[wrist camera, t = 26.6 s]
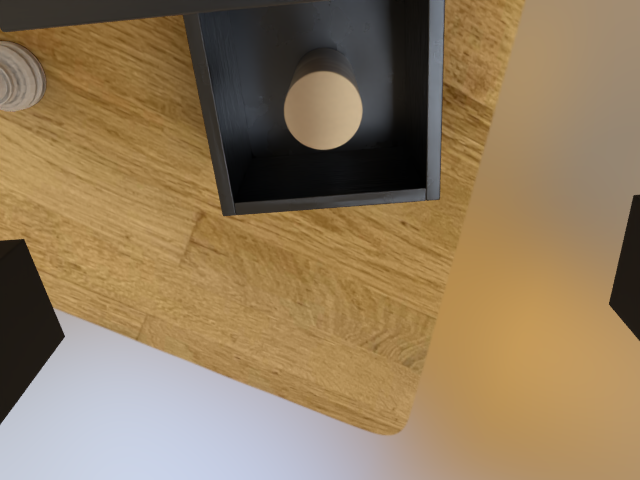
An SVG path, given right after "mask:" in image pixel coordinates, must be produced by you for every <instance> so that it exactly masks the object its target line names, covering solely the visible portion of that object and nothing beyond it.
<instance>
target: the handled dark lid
mask: <svg viewBox="0 0 640 480" xmlns="http://www.w3.org/2000/svg"><path fill="white" fill-rule="evenodd" d="M317 1H327V0H0V28H1V30H2V31H3V32H12V31H23V30H33V29H43V28H53V27H63V26H73V25H84V24H94V23H104V22H114V21H124V20H134V19H145V18H155V17H165V16H175V15H185V14H195V13H206V12H216V11H226V10H236V9H246V8H256V7H266V6H277V5H287V4H297V3H307V2H317Z"/></svg>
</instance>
